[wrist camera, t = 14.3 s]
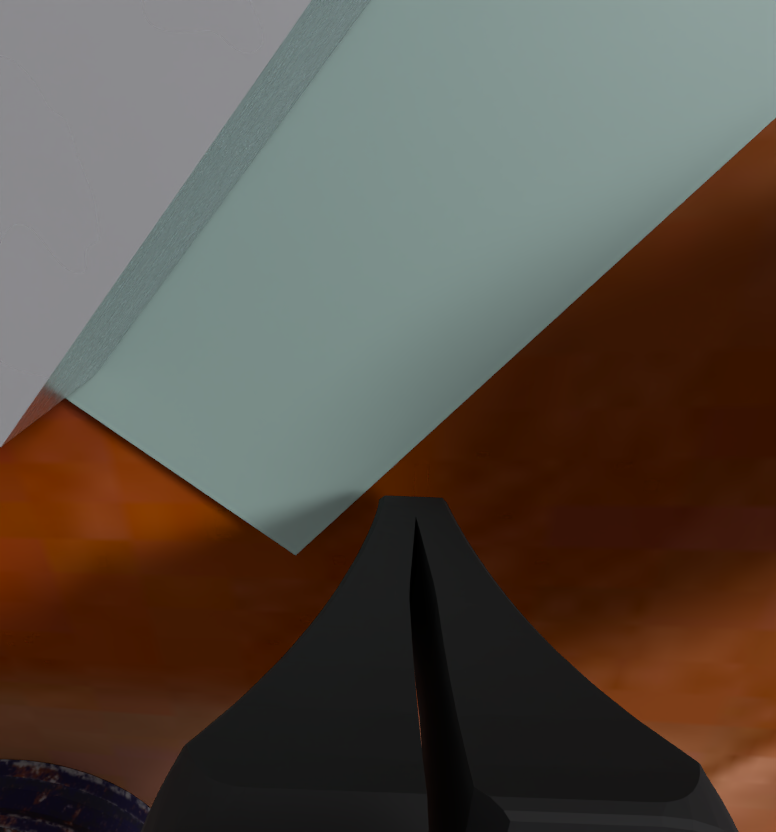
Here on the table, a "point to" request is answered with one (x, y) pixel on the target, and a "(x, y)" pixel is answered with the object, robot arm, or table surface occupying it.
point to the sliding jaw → (126, 160)
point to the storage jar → (64, 801)
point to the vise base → (423, 234)
